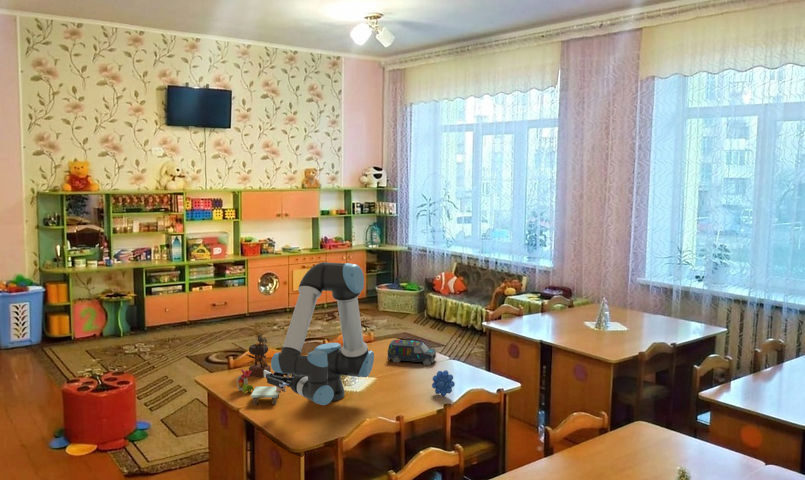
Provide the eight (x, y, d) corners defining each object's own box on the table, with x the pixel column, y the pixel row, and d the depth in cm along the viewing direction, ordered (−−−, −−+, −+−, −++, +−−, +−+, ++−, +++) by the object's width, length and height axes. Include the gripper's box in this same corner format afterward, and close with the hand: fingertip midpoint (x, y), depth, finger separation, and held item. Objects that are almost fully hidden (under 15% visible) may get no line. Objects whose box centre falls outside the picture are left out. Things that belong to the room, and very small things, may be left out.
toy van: (433, 366, 338) (433, 347, 337) (386, 362, 343) (386, 343, 342) (436, 359, 348) (437, 341, 347) (391, 356, 354) (391, 338, 352)
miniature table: (280, 396, 292) (280, 386, 291) (277, 405, 281) (277, 395, 280) (255, 396, 292) (255, 386, 291) (251, 405, 281) (250, 395, 280)
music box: (278, 373, 323) (275, 334, 319) (261, 381, 314) (257, 341, 310) (257, 367, 332) (253, 329, 328) (240, 374, 323) (236, 335, 319)
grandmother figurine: (285, 388, 276) (284, 358, 274) (290, 390, 273) (289, 361, 271) (269, 392, 271) (268, 362, 269) (274, 395, 268) (273, 365, 266)
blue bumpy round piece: (459, 396, 294) (459, 369, 293) (451, 400, 289) (451, 373, 288) (437, 390, 301) (437, 365, 300) (429, 394, 296) (429, 368, 294)
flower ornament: (234, 397, 296) (246, 393, 291) (227, 373, 297) (240, 369, 292) (245, 393, 301) (257, 389, 296) (238, 370, 302) (250, 365, 297)
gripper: (281, 401, 251) (251, 385, 268) (325, 388, 265) (294, 374, 281) (281, 382, 250) (251, 367, 267) (325, 370, 264) (293, 357, 280)
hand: (273, 371), depth 274 cm, fingers closed on grandmother figurine, 7 cm apart
